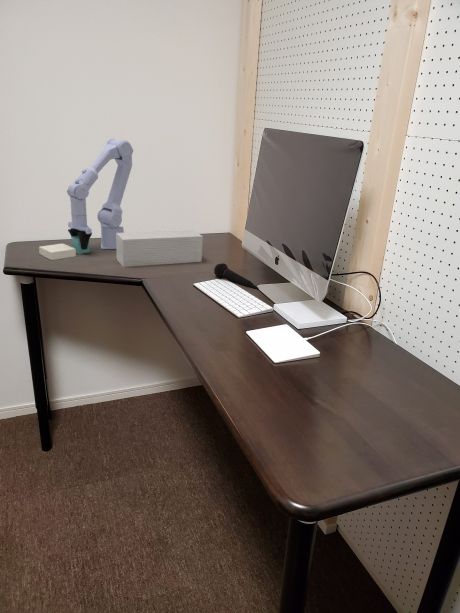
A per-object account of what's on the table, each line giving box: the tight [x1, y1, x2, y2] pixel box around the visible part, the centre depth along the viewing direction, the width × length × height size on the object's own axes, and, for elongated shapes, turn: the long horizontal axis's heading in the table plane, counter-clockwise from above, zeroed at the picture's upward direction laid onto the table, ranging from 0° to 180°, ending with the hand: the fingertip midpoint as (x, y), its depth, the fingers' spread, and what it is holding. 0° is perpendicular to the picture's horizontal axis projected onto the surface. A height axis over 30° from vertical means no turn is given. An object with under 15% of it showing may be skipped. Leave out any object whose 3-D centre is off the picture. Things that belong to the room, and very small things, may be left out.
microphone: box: [213, 262, 260, 290], centre depth 165 cm, size 6×6×20 cm
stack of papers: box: [115, 229, 204, 268], centre depth 183 cm, size 32×11×11 cm, turn 116°
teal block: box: [70, 236, 91, 255], centre depth 187 cm, size 5×5×6 cm
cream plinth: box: [38, 242, 77, 261], centre depth 181 cm, size 10×10×3 cm
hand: (80, 247), depth 188 cm, fingers closed on teal block, 5 cm apart
